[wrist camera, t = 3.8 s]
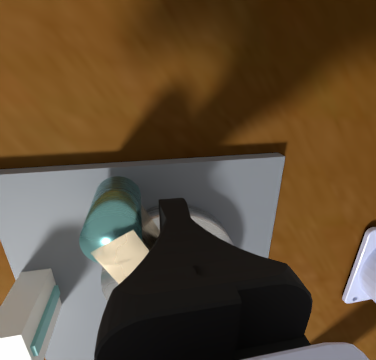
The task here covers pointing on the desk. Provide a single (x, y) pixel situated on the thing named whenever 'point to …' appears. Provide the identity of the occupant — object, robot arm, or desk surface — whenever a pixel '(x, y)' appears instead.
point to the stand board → (150, 194)
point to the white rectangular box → (29, 316)
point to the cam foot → (127, 230)
